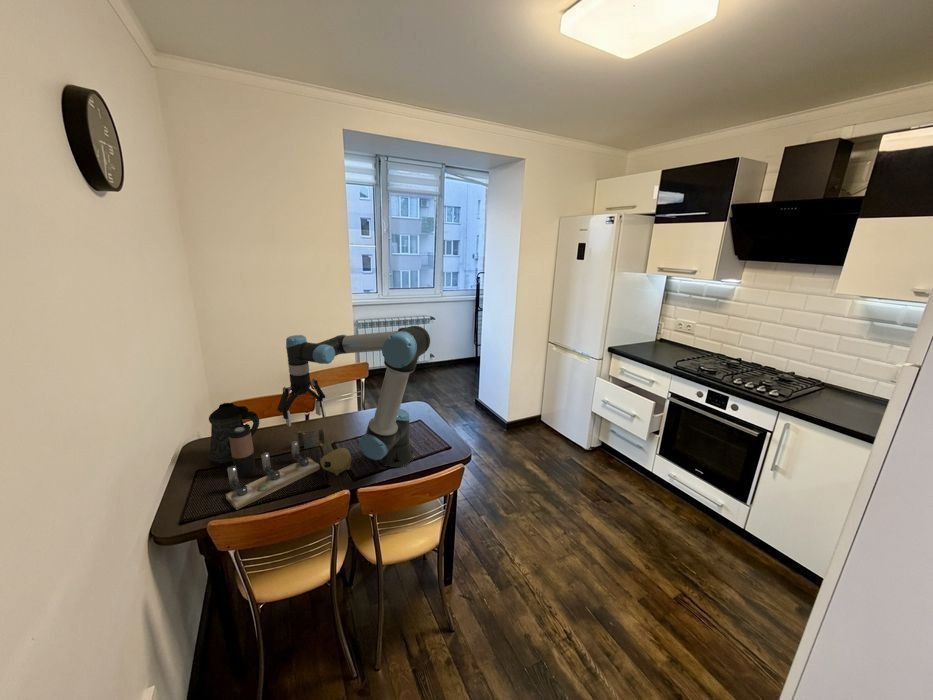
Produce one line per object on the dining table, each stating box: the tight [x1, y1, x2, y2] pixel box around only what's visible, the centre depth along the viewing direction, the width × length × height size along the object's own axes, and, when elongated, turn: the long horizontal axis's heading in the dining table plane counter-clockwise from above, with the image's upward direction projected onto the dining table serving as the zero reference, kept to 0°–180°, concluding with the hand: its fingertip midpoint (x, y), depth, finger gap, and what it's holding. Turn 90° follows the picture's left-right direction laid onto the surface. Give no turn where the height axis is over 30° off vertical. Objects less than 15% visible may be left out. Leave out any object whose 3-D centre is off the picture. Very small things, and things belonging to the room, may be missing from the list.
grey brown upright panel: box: [296, 428, 326, 450], centre depth 168 cm, size 11×3×10 cm, turn 114°
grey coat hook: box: [290, 440, 309, 466], centre depth 152 cm, size 10×3×8 cm, turn 52°
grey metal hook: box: [260, 451, 280, 480], centre depth 143 cm, size 10×3×8 cm, turn 52°
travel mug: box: [228, 423, 257, 478], centre depth 146 cm, size 8×8×20 cm
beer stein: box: [207, 402, 260, 469], centre depth 156 cm, size 16×19×25 cm
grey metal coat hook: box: [226, 466, 248, 496], centre depth 134 cm, size 10×3×8 cm, turn 52°
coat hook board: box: [225, 456, 321, 511], centre depth 143 cm, size 9×32×3 cm, turn 142°
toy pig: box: [319, 447, 352, 476], centre depth 150 cm, size 10×12×11 cm
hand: (304, 419), depth 155 cm, fingers open, 12 cm apart
